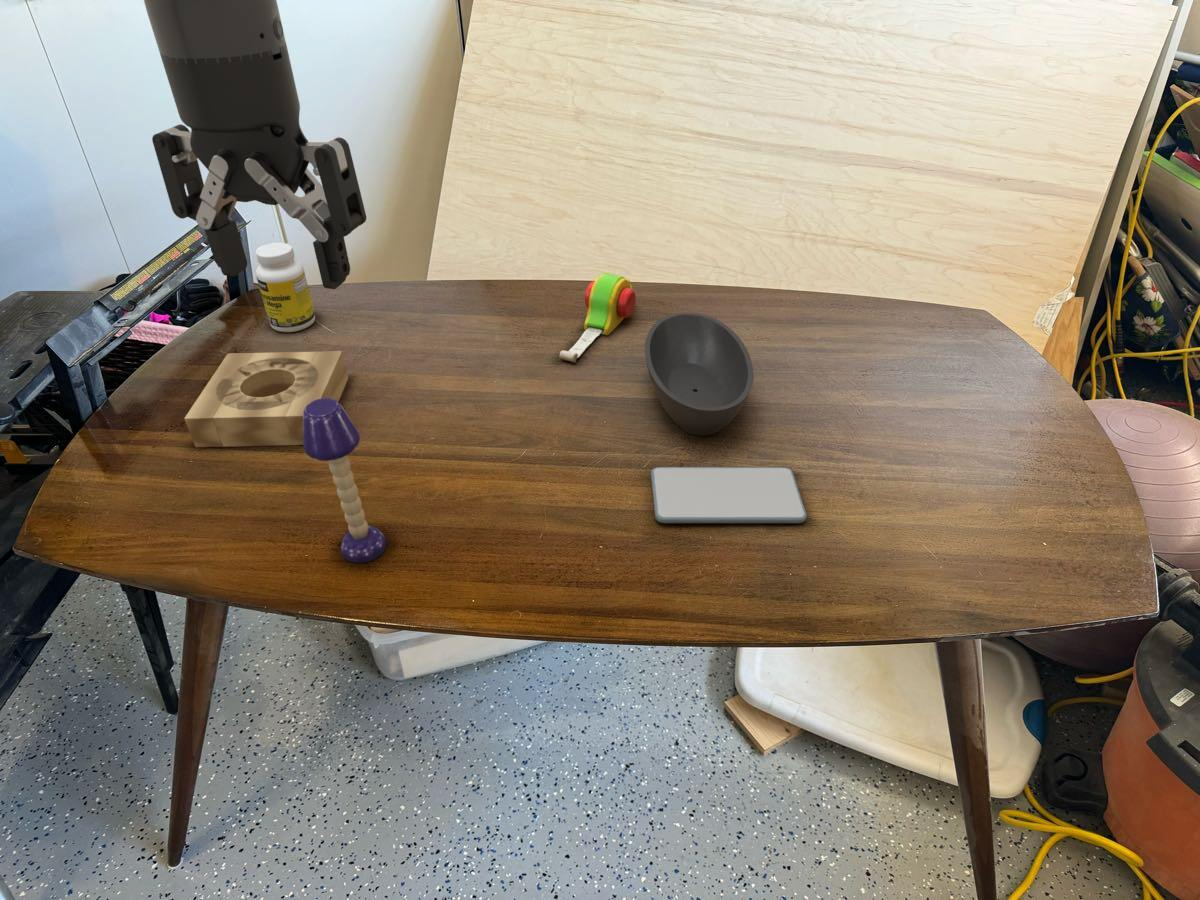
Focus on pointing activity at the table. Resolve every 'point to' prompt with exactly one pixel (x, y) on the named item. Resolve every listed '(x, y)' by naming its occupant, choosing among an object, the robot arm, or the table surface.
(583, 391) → the table surface
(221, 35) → the robot arm
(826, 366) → the table surface
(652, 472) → the smartphone
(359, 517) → the toy lamp
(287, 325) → the pill bottle
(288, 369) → the socket base
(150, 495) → the table surface
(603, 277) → the toy measuring tape
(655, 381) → the bowl
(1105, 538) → the table surface
